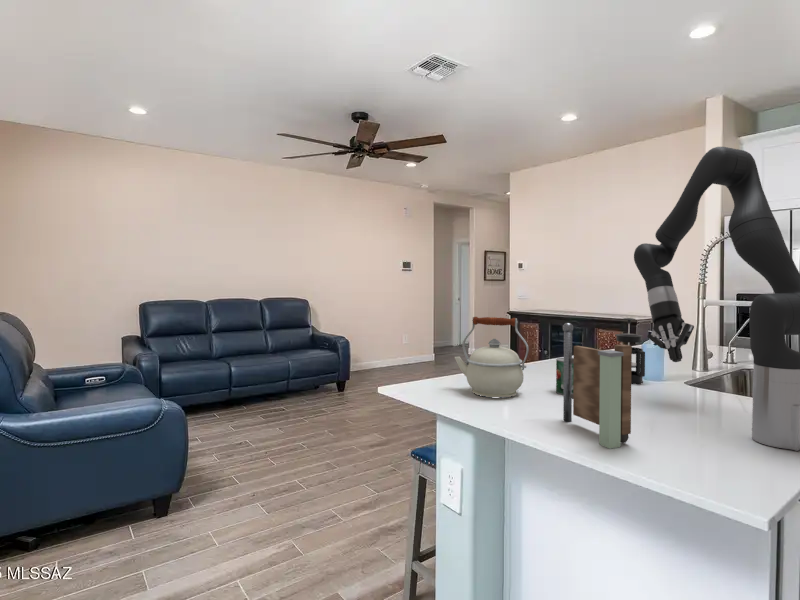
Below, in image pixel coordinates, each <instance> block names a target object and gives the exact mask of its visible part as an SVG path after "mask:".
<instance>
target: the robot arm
mask: <svg viewBox="0 0 800 600" xmlns="http://www.w3.org/2000/svg"><path fill="white" fill-rule="evenodd" d="M758 171H759V170H758V167H757V163H756V160H755V158H754V157H753V155H752V154H751V153H750V152H748V151H746V150H744V149H739V148H732V147H726V146H715V147H712V148H711V149H709V150H708V151H707V152H706V153H705V154H704V155H703V156H702V157H701V159H700V160H699V162H698V164H697V165H696V167H695V168H694V171H693V173H692V174H691V176H690V178H689V180H688V181H687V184H686V186H685V187H684V189H683V191H682V193H681V195H680V196H679V198H678V201H677V202H676V204H675V205H674V207H673V209H672V210H671V211H670V213H669V214H668V216H667V217H666V218H665V220H664V221H663V222H662V223H661V225H660V226H659V227H658V228H657V230H656V232H655V233H654V234H655V239H656V241H658V242H659V243H660V244H654V243H640V244H639V245H638V246H636V247H635V249H634V252H633V260H634V261H633V262H634V263H635V266H636V268H637V270H638V272H639V273H640V275H641V277H642V279H643V280H644V283H645V287H646V293H647V301H648V307H649V310H650V314H651V315H650V316H651V321H652V323H653V326H652V329H653V331H652V333H651V334H647V338H648V340H650V341H652V342H653V343H654V344H655V345H657V346H658V347H659V348H660V349H664V350H667V353H668V357H669V360H670V361H672V362H674V363H679V362H682V359H683V354H682V350H681V348H682V347H683V346H685V345H687V344H688V341H689V339H690V337H691V335H692V332H693V331H694V329H695V326H694V325H693V324H690V323H686V322H685V320H684V319H683V318H682V312H681V309H680V308H681V307H680V304H679V300H678V296H677V293H676V291H675V287H674V284H673V279H672V276H671V273H670V272H669V271H667V270H665V269H663V268H665V267H666V266H668V265H669V264H670V263H671V262H672V261H673V258H674V256H675V254H676V251H677V250H678V247H679V244H680V243H681V241H682V240H683V239H684V238H685V237H686V236H687V234H688V233H689V232H690V231H691V229H692V228H693V226H694V225H695V222H696V220H697V217H698V210H699V205H700V201H701V199H702V196H703V195H704V193H705V192H706V191H707V190H708V189H709V188H710V187H711V186H712V185H713V184H714V185H719V186H725V187H726V189H728V191H729V193H730V195H731V197H732V201H733V204H734V205H733V206H734V207H733V211H732V213H731V215H730V218H729V221H728V226H727V227H728V232H729V236H730V238H731V242H732V245H733V247H734V251H735V252H736V253H737V255H738V256H739V257H740V258H741V259H742V260H743V261H744V262H745V263H746V264H748V265H749V266H750V267H751V268H753V270H755V271H756V272H757V273H758V274H760V275H761V276H762V277H763V278H764V280H766V281H767V282H768V283H769V285H770V287H771V289H772V291H773V292H772V293H771V292H770V293H762V294H759V295H757V296H756V297H755V298H754V299H753V301H751V304H750V308H749V315H748V317H749V318H748V321H749V322H748V323H749V324H748V325H749V340H750V341H749V342H750V343H749V344H750V345H749V346H750V350H751V354H752V357H753V369H752V370H753V371H752V372H753V374H752V375H753V376H752V415H751V416H752V417H751V421H752V423H751V424H752V425H751V438H752V440H753V441H754V442H756V443H759V444H763V445H765V446H769V447H774V448H778V449H779V448H780V449H786V450H792V451H800V351H797V350H794V349H792V348H791V347H789V346H788V344H787V341H786V336H800V271H799V269H798V268H797V266H796V264H795V261H794V260H793V257H792V255H791V254H790V253H791V252H790V251H789V248H788V247H787V244H786V242H785V240H784V237H783V234H782V231H781V228H780V226H779V224H778V222H777V219H776V217H775V216H774V214H773V211H772V209H771V207H770V205H769V201H768V200H767V197H766V194H765V192H764V188H763V186H762V182H761V179H760V175H759V172H758ZM660 337H661V339H660Z"/></svg>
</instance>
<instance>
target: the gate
mask: <svg viewBox="0 0 800 600" xmlns="http://www.w3.org/2000/svg"><path fill="white" fill-rule="evenodd" d="M598 351H605V350H604V349H598V348H595V347H594V348H593V347H587V346H581V345H573V357H572V358H571V363H572V364H574V379H573V393H570V398H572V400H573V401H572V404H573V405H572V409H573V410H572V413H573V414H572V415H573V416H576V417H578V418H581V419H583V420H586V421H587V422H590V423H592V424H593V423H594V424H597V425H598V426H599V411H600V355H598ZM614 351H619V352H624V356H621V438H620V444H621V443H622V444H626V443H627V442H628V440H629V438H630V437H629V435H631V433H632V384H631V371H632V368H631V366H632V359H633V358H632V356H633V354H632V345H630V344H629V345H628V344H614Z"/></svg>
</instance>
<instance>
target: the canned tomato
mask: <svg viewBox="0 0 800 600" xmlns="http://www.w3.org/2000/svg"><path fill="white" fill-rule="evenodd" d="M555 360H556V361H555V362H556V365H555V366H556V367H555V369H556V370H555V371H556V374H555V377H556V379H555V381H556V385H555V392H556V394H558V395H561V396H564V357H558V358H556V359H555ZM573 379H574V364H572V393H573Z"/></svg>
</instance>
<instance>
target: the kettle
mask: <svg viewBox="0 0 800 600" xmlns="http://www.w3.org/2000/svg"><path fill="white" fill-rule="evenodd" d="M518 323H519V322H518V318H516V317H512V318H507V317H495V316H494V317H493V316H486V317H485V316H484V317H478V316H473V317H472V327H471V330H470V331H469V332H468V334H467V335H465V338H463V340H462V341H463V342H462V351H463V354H464V357H465V359H466V360H464V361H463V359H462V358H461V356H454V360H455V361H456V363H457V366H458V367H459V368H458V369H460V371H461V372H462V374H463V375H464V376H465V377H466V381H467V383H468V385H469V387H470V388H472V393H473V394H474V393H475V394H477V395H476V396H478V395H481V396H486V397H509V398H512V397H511V396H513V397H515V396H517V394H518V392H517V391H518V390H519V389H520V388H521V386H522V384H523V382H524V372H523V371H524V370H525V369H527V365H525V362H526V361H527V358H528V355H529V348H530V347H529V345H528V342H527V341H526V339H525V338H524V337H523V336H522V334H521V333H520V332H519V330H518ZM476 325H485V326H501V327H502V326H512V327H514V328H515V329H514V330H515V333H516V334H517V335H518V337H519V338H520V339H521V340H522V341H523V343H524V345H525V347H526V351H525V356H524V359H523V360H522V359H521V358H520V356H519V354H518V353H517V352H516V351H514V350H512V348H507V347H504V346H500V345H501V342H500V340H498V339H497V338H492V339H490V341H489V342H487V344H488V345H489V346H483V347H480V348H477V349H475V350H474V351H472V352H471V354H470V356H468V354H467V353H468V352H467V351H466V345H465V344H466V341H467V339H468V338H469V336H470V335H471V334H472V333H473V332H474V330H475V329H476V328H475V326H476ZM475 394H474V395H475ZM481 396H480V397H481ZM486 397H485V398H486Z"/></svg>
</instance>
